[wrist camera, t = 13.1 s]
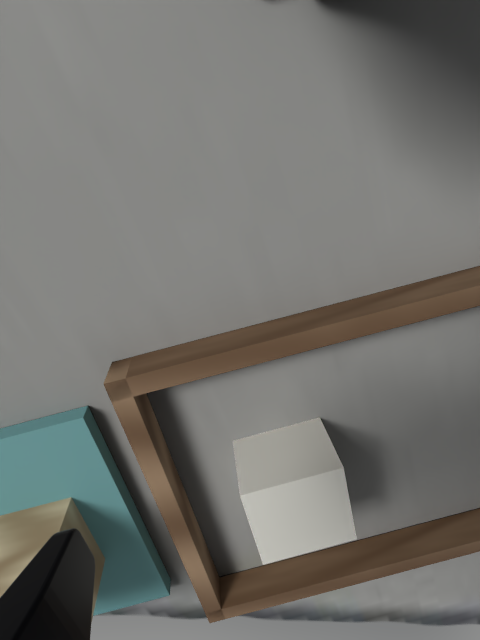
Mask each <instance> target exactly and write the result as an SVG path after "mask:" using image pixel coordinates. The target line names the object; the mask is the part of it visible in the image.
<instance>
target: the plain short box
mask: <svg viewBox="0 0 480 640" xmlns="http://www.w3.org/2000/svg"><path fill="white" fill-rule="evenodd" d="M233 447H234V454H235V462H236V469H237V477H238V484H239V492H240V497H241V500H242V503H243V506H244V509H245V512H246V515H247V518H248V521H249V524H250V527H251V530H252V533H253V536H254V539H255V542H256V545H257V548H258V551H259V554H260V557H261V560H262V563H263V565H264V564H268V563H272V562H275V561H279V560H283V559H286V558H290V557H294V556H297V555H301V554H305V553H309V552H312V551H316V550H320V549H323V548H327V547H331V546H334V545H338V544H342V543H345V542H349V541H353V540H356V539H357V538H356V532H355V527H354V521H353V516H352V510H351V505H350V500H349V494H348V489H347V483H346V478H345V472H344V467H343V465H342V463H341V461H340V459H339V457H338V455H337V453H336V450H335V448H334V446H333V444H332V442H331V440H330V438H329V436H328V434H327V432H326V430H325V427H324V425H323V423H322V421H321V419H320V417H319V418H316V419H312V420H308V421H304V422H301V423H297V424H293V425H290V426H286V427H282V428H279V429H275V430H271V431H268V432H264V433H260V434H256V435H253V436H249V437H245V438H242V439H238V440H234V441H233Z"/></svg>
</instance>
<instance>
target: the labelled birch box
mask: <svg viewBox="0 0 480 640" xmlns="http://www.w3.org/2000/svg"><path fill="white" fill-rule="evenodd" d="M72 528H76V529H78V530H79V531H80V533H81V534H82V536H83V538H84V540H85V541H86V543H87V545H88V547H89V548H90V550H91V552H92V553H93V556H94V559H95V579H94V592H93V605H92V618H93V613H94V609H95V604H96V599H97V595H98V590H99V586H100V581H101V577H102V572H103V567H104V563H105V557H104V555H103V554H102V552H101V550H100V548H99V546H98V545H97V543H96V541H95V539H94V537H93V535H92V534H91V532H90V530H89V528H88V526H87V525H86V523H85V521H84V519H83V517H82V515H81V514H80V512H79V510H78V508H77V506H76V505H75V503H74V501H73V499H72V497H70V498H67V499H63V500H59V501H55V502H51V503H47V504H43V505H40V506H36V507H32V508H28V509H24V510H20V511H16V512H13V513H9V514H5V515H1V516H0V597H1V596H2V595H3V594H4V592H5V591H6V590H7V589H8V588H9V586H10V585H11V584H12V583H13V582H14V580H15V579H16V578H17V577H18V576H19V574H20V573H21V572H22V571H23V570H24V568H25V567H26V566H27V565H28V564H29V562H30V561H31V560H32V559H33V558H34V556H35V555H36V554H37V553H38V552H39V550H40V549H41V548H42V547H43V546H44V544H45V543H46V542H47V541H48V540H49V538H50V537H51V536H52V535H54V534H55V533H57V532H61V531H64V530H68V529H72ZM92 618H91V622H92Z"/></svg>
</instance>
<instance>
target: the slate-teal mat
mask: <svg viewBox="0 0 480 640" xmlns="http://www.w3.org/2000/svg"><path fill="white" fill-rule="evenodd" d="M70 497H72V499H73V501H74V503H75V505H76V506H77V508H78V510H79V512H80V514H81V515H82V517H83V519H84V521H85V523H86V525H87V526H88V528H89V530H90V532H91V534H92V535H93V537H94V539H95V541H96V543H97V545H98V546H99V548H100V550H101V552H102V554H103V555H104V557H105V563H104V567H103V572H102V577H101V581H100V586H99V590H98V595H97V599H96V604H95V609H94V613H93V616H94V615H98V614H101V613H105V612H109V611H113V610H116V609H120V608H124V607H128V606H131V605H135V604H139V603H143V602H147V601H150V600H154V599H158V598H162V597H165V596H169V595H170V582H171V579H170V577H169V575H168V573H167V571H166V569H165V567H164V565H163V562H162V560H161V558H160V556H159V554H158V552H157V550H156V548H155V546H154V544H153V541H152V539H151V537H150V535H149V533H148V531H147V529H146V527H145V525H144V523H143V520H142V518H141V516H140V514H139V512H138V510H137V508H136V506H135V504H134V501H133V499H132V497H131V495H130V493H129V491H128V489H127V487H126V485H125V483H124V480H123V478H122V476H121V474H120V472H119V470H118V468H117V466H116V464H115V462H114V459H113V457H112V455H111V453H110V451H109V449H108V447H107V445H106V443H105V440H104V438H103V436H102V434H101V432H100V430H99V428H98V426H97V424H96V422H95V419H94V417H93V415H92V413H91V411H90V409H89V407H88V406H85V407H81V408H77V409H73V410H70V411H66V412H62V413H58V414H54V415H51V416H47V417H43V418H39V419H35V420H32V421H28V422H24V423H20V424H16V425H13V426H9V427H5V428H1V429H0V516H1V515H5V514H9V513H13V512H16V511H20V510H24V509H28V508H32V507H36V506H40V505H43V504H47V503H51V502H55V501H59V500H63V499H67V498H70Z"/></svg>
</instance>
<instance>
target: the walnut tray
mask: <svg viewBox="0 0 480 640" xmlns="http://www.w3.org/2000/svg"><path fill="white" fill-rule="evenodd" d="M476 306H480V266H478V267H474V268H470V269H466V270H462V271H458V272H455V273H451V274H447V275H443V276H439V277H436V278H432V279H428V280H424V281H420V282H416V283H413V284H409V285H405V286H401V287H397V288H394V289H390V290H386V291H382V292H378V293H375V294H371V295H367V296H363V297H359V298H355V299H352V300H348V301H344V302H340V303H336V304H333V305H329V306H325V307H321V308H317V309H314V310H310V311H306V312H302V313H298V314H294V315H291V316H287V317H283V318H279V319H275V320H272V321H268V322H264V323H260V324H256V325H252V326H249V327H245V328H241V329H237V330H233V331H230V332H226V333H222V334H218V335H214V336H211V337H207V338H203V339H199V340H195V341H191V342H188V343H184V344H180V345H176V346H172V347H169V348H165V349H161V350H157V351H153V352H149V353H146V354H142V355H138V356H134V357H130V358H127V359H123V360H119V361H115V362H112V364H111V366H110V369H109V371H108V374H107V376H106V379H105V382H104V386H105V388H106V391H107V393H108V395H109V397H110V400H111V402H112V404H113V406H114V409H115V411H116V413H117V416H118V418H119V420H120V422H121V425H122V427H123V429H124V431H125V434H126V436H127V438H128V440H129V443H130V445H131V447H132V449H133V452H134V454H135V456H136V458H137V461H138V463H139V465H140V467H141V470H142V472H143V474H144V476H145V479H146V481H147V483H148V485H149V488H150V490H151V492H152V494H153V497H154V499H155V501H156V503H157V506H158V508H159V510H160V512H161V515H162V517H163V519H164V521H165V524H166V526H167V528H168V530H169V533H170V535H171V537H172V539H173V542H174V544H175V546H176V548H177V551H178V553H179V555H180V557H181V560H182V562H183V564H184V566H185V569H186V571H187V573H188V575H189V578H190V580H191V582H192V584H193V587H194V589H195V591H196V593H197V596H198V598H199V600H200V602H201V605H202V607H203V609H204V611H205V614H206V616H207V618H208V620H209V622H210V623H212V622H216V621H220V620H223V619H227V618H231V617H235V616H239V615H242V614H246V613H250V612H254V611H257V610H261V609H265V608H269V607H272V606H276V605H280V604H284V603H287V602H291V601H295V600H299V599H302V598H306V597H310V596H314V595H317V594H321V593H325V592H329V591H332V590H336V589H340V588H344V587H347V586H351V585H355V584H359V583H362V582H366V581H370V580H374V579H378V578H381V577H385V576H389V575H393V574H396V573H400V572H404V571H408V570H411V569H415V568H419V567H423V566H426V565H430V564H434V563H438V562H441V561H445V560H449V559H453V558H456V557H460V556H464V555H468V554H471V553H475V552H479V551H480V508H479V509H475V510H471V511H468V512H464V513H460V514H456V515H453V516H449V517H445V518H441V519H437V520H434V521H430V522H426V523H422V524H419V525H415V526H411V527H407V528H404V529H400V530H396V531H392V532H389V533H385V534H381V535H377V536H373V537H370V538H366V539H362V540H358V541H355V542H351V543H347V544H343V545H340V546H336V547H332V548H328V549H325V550H321V551H317V552H313V553H310V554H306V555H302V556H298V557H294V558H291V559H287V560H283V561H279V562H276V563H272V564H268V565H264V566H261V567H257V568H253V569H249V570H246V571H242V572H238V573H234V574H230V575H227V576H223V577H219V575H218V573H217V570H216V568H215V565H214V563H213V560H212V558H211V555H210V552H209V550H208V547H207V545H206V542H205V540H204V537H203V535H202V532H201V530H200V527H199V525H198V522H197V520H196V517H195V515H194V512H193V510H192V507H191V505H190V502H189V500H188V497H187V495H186V492H185V490H184V487H183V484H182V482H181V479H180V477H179V474H178V472H177V469H176V467H175V464H174V462H173V459H172V457H171V454H170V452H169V449H168V447H167V444H166V442H165V439H164V437H163V434H162V432H161V429H160V427H159V424H158V421H157V419H156V416H155V414H154V411H153V409H152V406H151V404H150V401H149V399H148V396H147V394H146V393H149V392H153V391H157V390H160V389H164V388H168V387H172V386H176V385H179V384H183V383H187V382H191V381H195V380H198V379H202V378H206V377H210V376H214V375H217V374H221V373H225V372H229V371H233V370H237V369H240V368H244V367H248V366H252V365H256V364H259V363H263V362H267V361H271V360H275V359H278V358H282V357H286V356H290V355H294V354H297V353H301V352H305V351H309V350H313V349H316V348H320V347H324V346H328V345H332V344H335V343H339V342H343V341H347V340H351V339H354V338H358V337H362V336H366V335H370V334H374V333H377V332H381V331H385V330H389V329H393V328H396V327H400V326H404V325H408V324H412V323H415V322H419V321H423V320H427V319H431V318H434V317H438V316H442V315H446V314H450V313H453V312H457V311H461V310H465V309H469V308H472V307H476Z"/></svg>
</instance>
